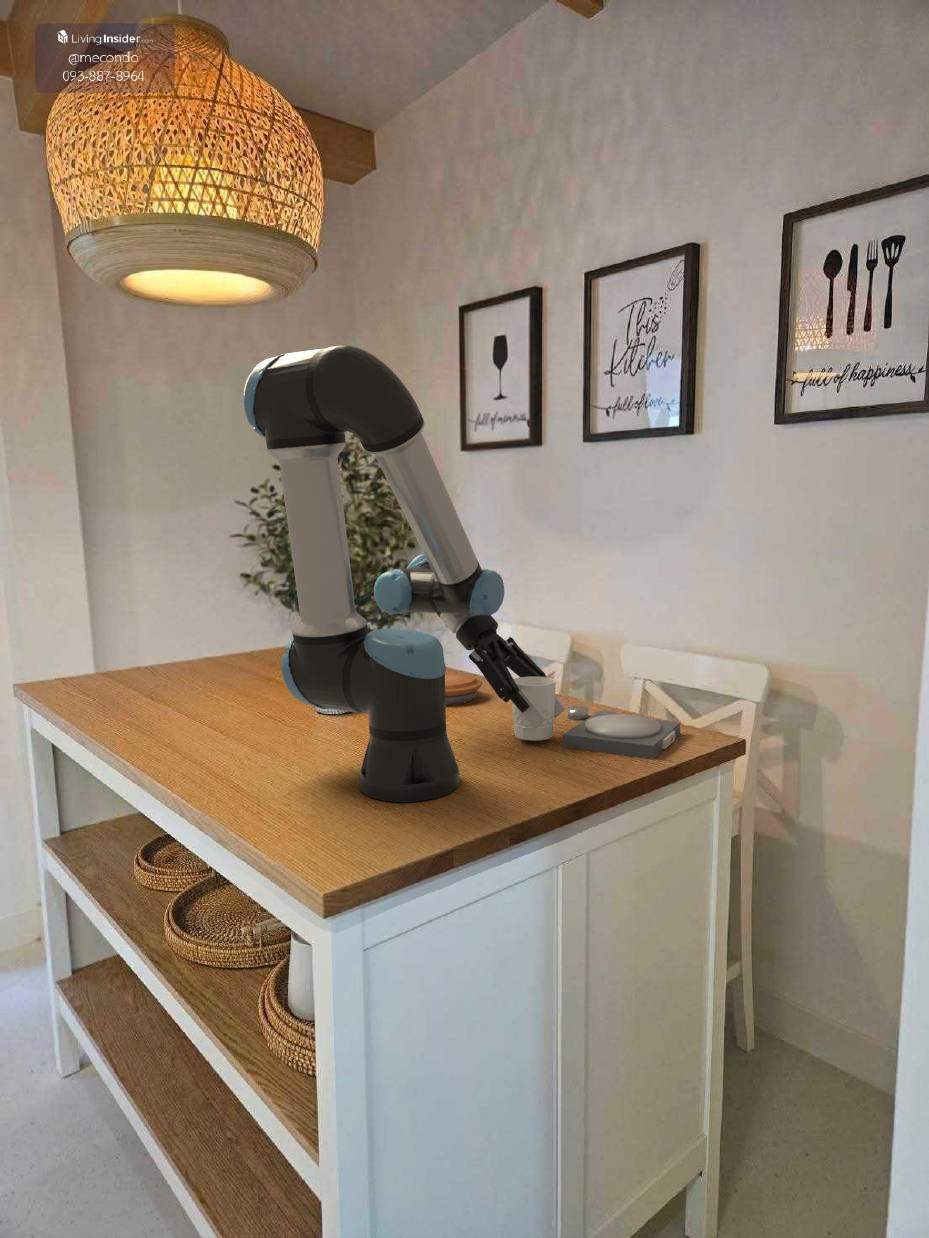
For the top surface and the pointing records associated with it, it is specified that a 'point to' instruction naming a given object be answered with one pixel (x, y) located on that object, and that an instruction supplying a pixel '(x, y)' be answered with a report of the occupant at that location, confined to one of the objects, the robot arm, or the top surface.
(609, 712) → the cylinder
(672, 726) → the scale
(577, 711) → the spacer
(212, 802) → the top surface
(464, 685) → the pie
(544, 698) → the white cup
